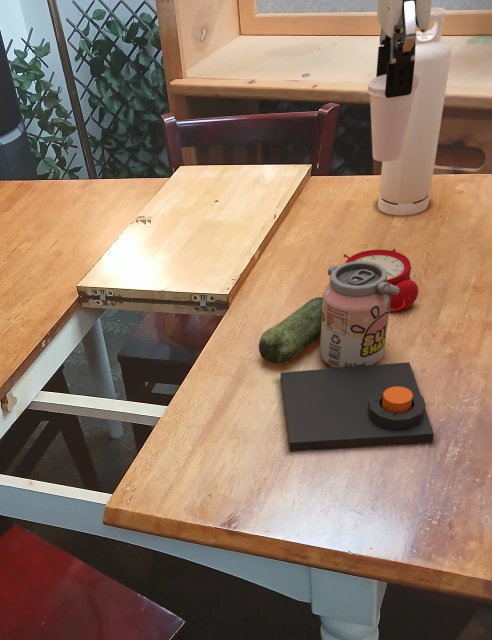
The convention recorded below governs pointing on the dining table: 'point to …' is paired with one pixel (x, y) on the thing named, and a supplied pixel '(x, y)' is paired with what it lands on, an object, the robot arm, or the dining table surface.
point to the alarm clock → (392, 274)
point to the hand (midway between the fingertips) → (393, 85)
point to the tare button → (397, 399)
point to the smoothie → (388, 119)
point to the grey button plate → (351, 408)
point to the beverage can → (355, 314)
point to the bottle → (419, 127)
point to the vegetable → (292, 333)
